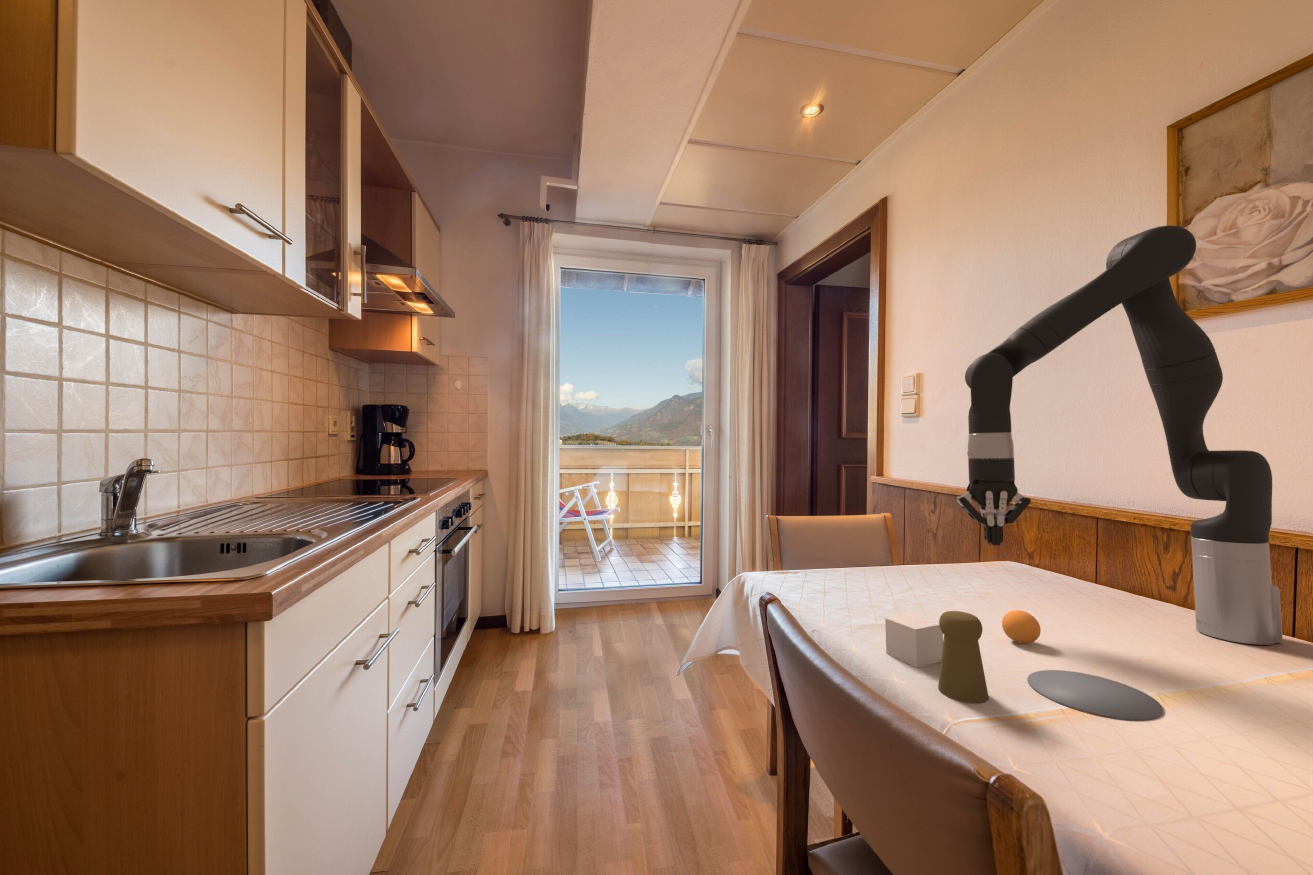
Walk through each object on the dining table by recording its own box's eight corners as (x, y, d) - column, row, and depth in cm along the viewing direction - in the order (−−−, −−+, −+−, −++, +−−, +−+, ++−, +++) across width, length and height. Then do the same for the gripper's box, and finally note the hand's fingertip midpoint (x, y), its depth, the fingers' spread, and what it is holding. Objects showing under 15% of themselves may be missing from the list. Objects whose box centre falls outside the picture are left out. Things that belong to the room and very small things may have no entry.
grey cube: (886, 654, 83) (884, 617, 83) (912, 648, 85) (910, 613, 86) (917, 667, 77) (915, 629, 78) (944, 661, 80) (942, 623, 80)
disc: (1115, 675, 74) (1115, 674, 74) (1194, 725, 60) (1194, 723, 60) (1009, 667, 77) (1009, 666, 77) (1061, 714, 63) (1061, 712, 63)
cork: (997, 705, 65) (993, 621, 66) (947, 701, 67) (944, 619, 67) (977, 684, 71) (974, 607, 72) (931, 681, 73) (929, 605, 73)
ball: (1031, 637, 89) (1029, 606, 89) (1048, 649, 84) (1046, 616, 84) (996, 635, 90) (995, 605, 90) (1011, 647, 85) (1010, 614, 85)
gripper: (960, 456, 95) (963, 547, 94) (1039, 456, 92) (1042, 549, 91) (946, 456, 102) (949, 540, 102) (1018, 456, 99) (1022, 542, 99)
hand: (993, 544), depth 97 cm, fingers closed
